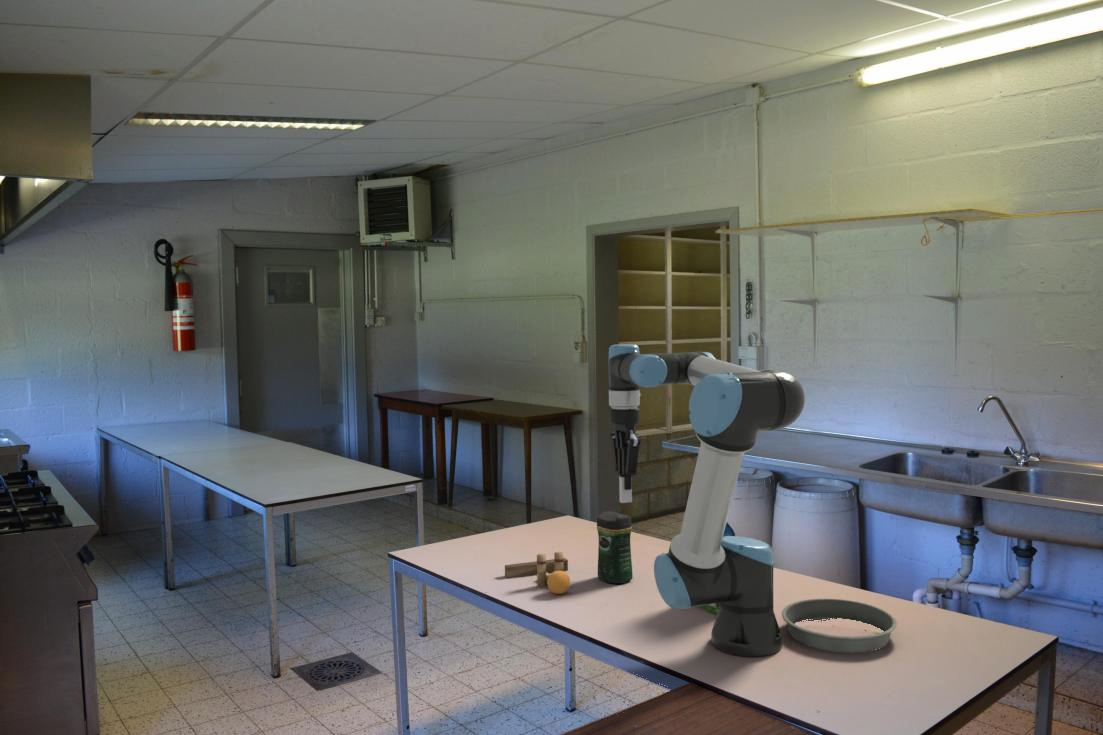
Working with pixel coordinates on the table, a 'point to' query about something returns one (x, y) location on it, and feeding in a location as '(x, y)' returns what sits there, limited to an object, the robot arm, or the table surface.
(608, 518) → the coffee jar
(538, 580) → the pin
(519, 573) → the back rail
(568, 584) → the ball
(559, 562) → the pin
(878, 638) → the cake pan
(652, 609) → the table surface
